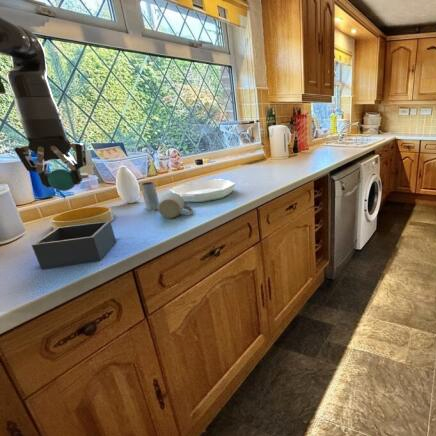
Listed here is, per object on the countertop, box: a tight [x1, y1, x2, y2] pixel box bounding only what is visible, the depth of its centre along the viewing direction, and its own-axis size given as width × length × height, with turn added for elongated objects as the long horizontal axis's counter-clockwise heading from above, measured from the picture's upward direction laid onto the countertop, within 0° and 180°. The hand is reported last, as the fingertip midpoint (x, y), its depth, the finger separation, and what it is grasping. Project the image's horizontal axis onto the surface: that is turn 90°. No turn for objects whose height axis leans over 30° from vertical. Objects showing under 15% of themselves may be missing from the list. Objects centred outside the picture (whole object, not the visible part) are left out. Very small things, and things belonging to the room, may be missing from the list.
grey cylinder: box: [140, 181, 160, 211], centre depth 115 cm, size 4×4×10 cm
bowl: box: [49, 205, 114, 230], centre depth 102 cm, size 16×16×4 cm
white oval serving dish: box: [168, 178, 236, 203], centre depth 133 cm, size 31×26×4 cm
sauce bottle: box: [115, 160, 141, 204], centre depth 124 cm, size 8×8×18 cm
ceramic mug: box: [157, 192, 194, 219], centre depth 108 cm, size 11×8×8 cm
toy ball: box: [48, 168, 76, 192], centre depth 79 cm, size 6×6×6 cm
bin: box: [31, 221, 117, 270], centre depth 79 cm, size 12×12×6 cm
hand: (64, 185), depth 79 cm, fingers closed on toy ball, 5 cm apart
